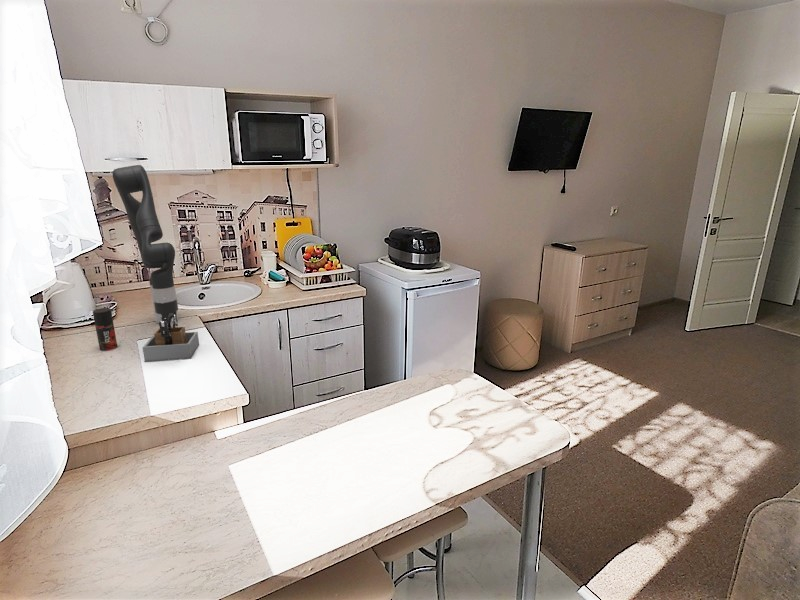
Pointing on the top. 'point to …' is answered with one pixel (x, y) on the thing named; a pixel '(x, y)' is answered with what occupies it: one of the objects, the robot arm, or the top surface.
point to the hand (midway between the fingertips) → (171, 342)
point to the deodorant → (105, 329)
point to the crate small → (172, 336)
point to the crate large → (171, 349)
